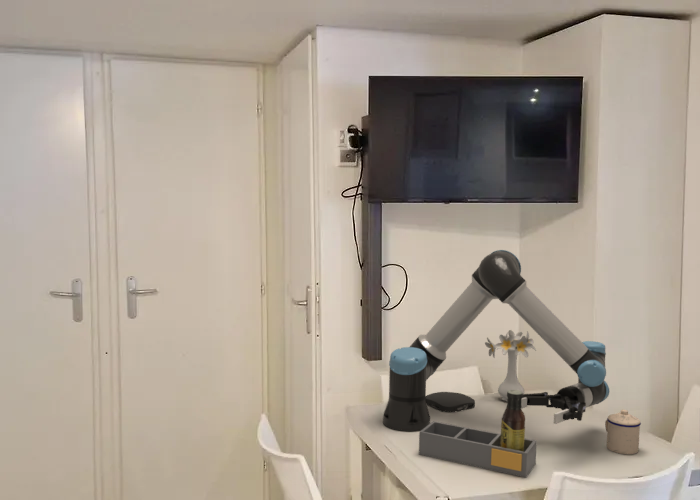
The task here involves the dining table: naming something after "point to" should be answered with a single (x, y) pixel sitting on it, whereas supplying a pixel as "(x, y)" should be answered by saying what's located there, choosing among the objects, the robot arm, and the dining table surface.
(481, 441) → the caddy
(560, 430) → the dining table surface
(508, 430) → the sauce bottle
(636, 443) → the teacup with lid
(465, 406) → the media streaming box
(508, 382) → the flower vase
